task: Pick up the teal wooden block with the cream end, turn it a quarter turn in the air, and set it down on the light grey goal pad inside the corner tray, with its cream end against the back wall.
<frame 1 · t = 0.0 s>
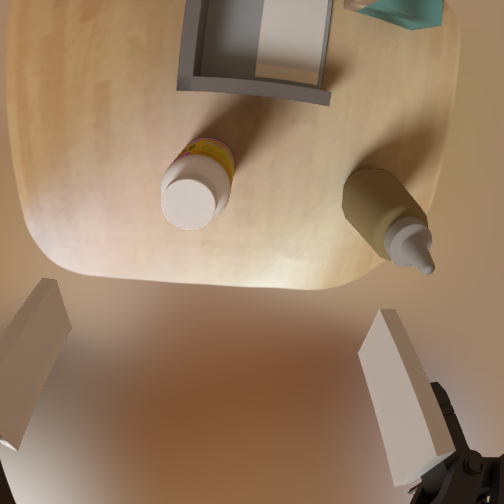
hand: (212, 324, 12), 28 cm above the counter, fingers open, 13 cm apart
corner tray: (260, 27, 28), on the counter
squeeze bottle: (363, 189, 39), on the counter
supplement bottle: (207, 162, 37), on the counter
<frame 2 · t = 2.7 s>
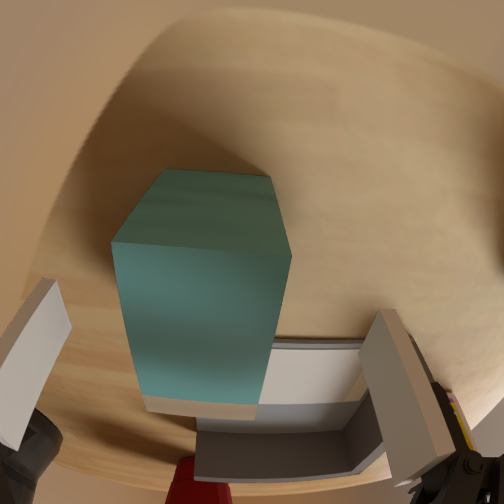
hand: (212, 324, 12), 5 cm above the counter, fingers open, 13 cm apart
teal block: (209, 317, 19), on the counter
corner tray: (292, 399, 24), on the counter
plastic cup: (200, 462, 32), on the counter
supplement bottle: (428, 405, 28), on the counter
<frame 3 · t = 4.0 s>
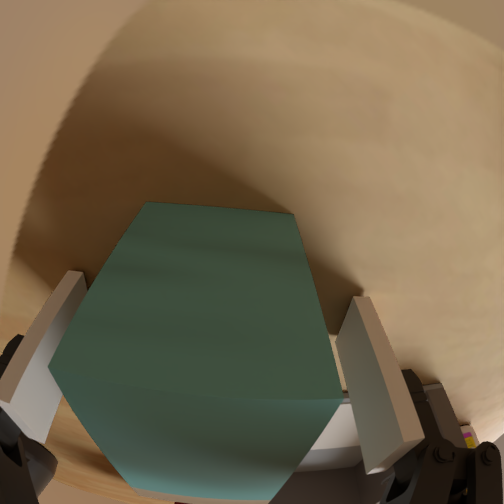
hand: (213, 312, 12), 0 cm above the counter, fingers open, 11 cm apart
teal block: (210, 374, 15), on the counter
corner tray: (303, 444, 20), on the counter
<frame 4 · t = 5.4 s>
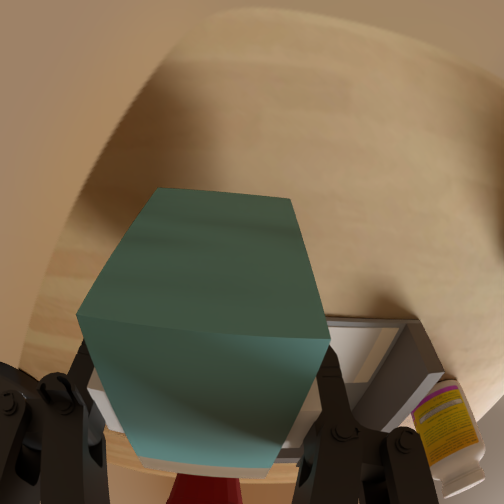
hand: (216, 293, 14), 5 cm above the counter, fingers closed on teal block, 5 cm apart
teal block: (213, 353, 16), point 5 cm above the counter, touching gripper
corner tray: (303, 378, 25), on the counter
plastic cup: (209, 445, 34), on the counter
supplement bottle: (433, 393, 29), on the counter
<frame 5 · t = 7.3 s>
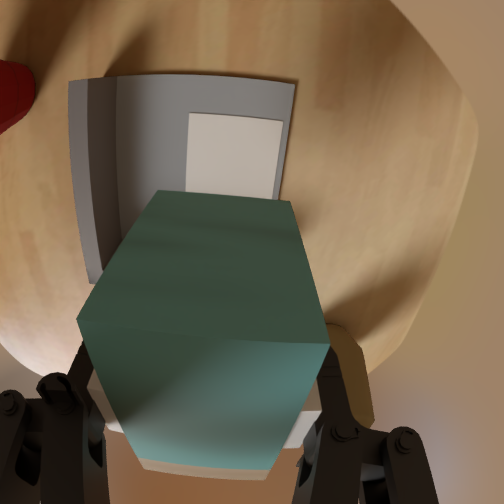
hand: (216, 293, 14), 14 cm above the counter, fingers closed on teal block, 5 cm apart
teal block: (213, 355, 16), point 13 cm above the counter, touching gripper
corner tray: (187, 173, 25), on the counter
plastic cup: (14, 90, 19), on the counter
squeeze bottle: (322, 338, 35), on the counter
when the fingers open (1 cm above the counter, at t = 9.5 s): teal block stays where it is, resting on corner tray.
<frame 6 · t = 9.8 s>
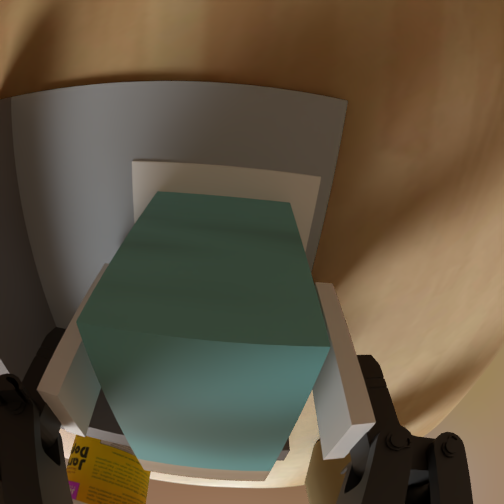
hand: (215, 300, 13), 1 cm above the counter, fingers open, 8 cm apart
teal block: (213, 356, 16), resting on corner tray
corner tray: (141, 266, 14), on the counter
squeeze bottle: (343, 438, 24), on the counter
supplement bottle: (120, 421, 22), on the counter
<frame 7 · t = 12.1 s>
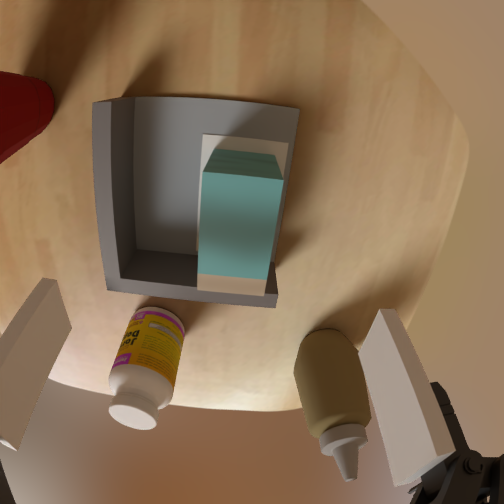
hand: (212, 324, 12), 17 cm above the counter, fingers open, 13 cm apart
teal block: (233, 246, 29), resting on corner tray
corner tray: (199, 189, 27), on the counter
plastic cup: (33, 105, 22), on the counter
squeeze bottle: (322, 343, 37), on the counter
supplement bottle: (158, 324, 35), on the counter
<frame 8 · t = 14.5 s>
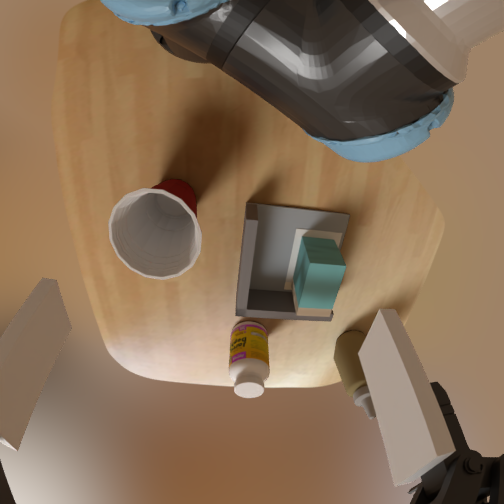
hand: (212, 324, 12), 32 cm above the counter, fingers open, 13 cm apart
teal block: (306, 286, 50), resting on corner tray
corner tray: (290, 256, 48), on the counter
plastic cup: (174, 196, 43), on the counter
squeeze bottle: (349, 339, 58), on the counter
supplement bottle: (248, 331, 57), on the counter
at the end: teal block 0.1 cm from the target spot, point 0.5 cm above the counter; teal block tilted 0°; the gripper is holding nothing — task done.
